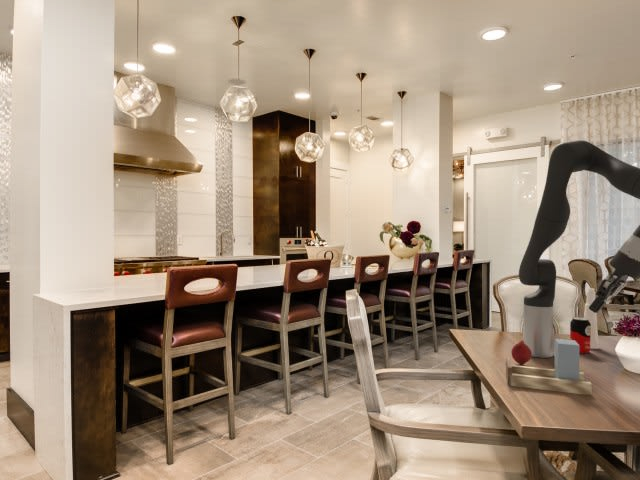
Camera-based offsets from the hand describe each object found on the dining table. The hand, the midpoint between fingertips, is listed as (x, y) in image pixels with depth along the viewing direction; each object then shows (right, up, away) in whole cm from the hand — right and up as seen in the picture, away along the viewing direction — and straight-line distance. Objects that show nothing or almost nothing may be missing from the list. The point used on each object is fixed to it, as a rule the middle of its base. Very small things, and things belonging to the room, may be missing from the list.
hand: (592, 310), depth 118 cm
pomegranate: (-9, -21, +23) cm, 32 cm away
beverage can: (+21, -21, +41) cm, 50 cm away
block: (-6, -20, +3) cm, 21 cm away
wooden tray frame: (-10, -21, +4) cm, 24 cm away
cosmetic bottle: (+28, -21, +47) cm, 59 cm away
